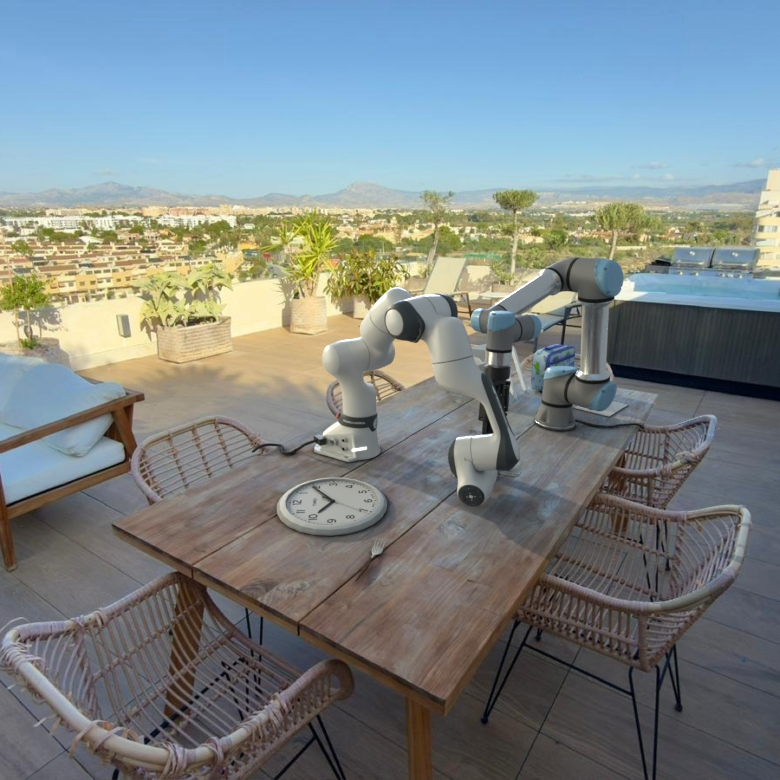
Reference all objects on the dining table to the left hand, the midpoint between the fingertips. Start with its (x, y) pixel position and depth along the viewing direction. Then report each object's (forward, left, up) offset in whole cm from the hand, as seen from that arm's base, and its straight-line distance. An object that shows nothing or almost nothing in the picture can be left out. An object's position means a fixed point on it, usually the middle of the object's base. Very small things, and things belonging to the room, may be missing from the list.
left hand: (490, 452), depth 162 cm
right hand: (0, -1, +5) cm, 5 cm away
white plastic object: (-19, +82, -7) cm, 84 cm away
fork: (-17, -57, -7) cm, 60 cm away
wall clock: (-36, -37, -7) cm, 52 cm away
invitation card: (+34, +82, -7) cm, 89 cm away
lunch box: (+12, +102, -7) cm, 102 cm away
